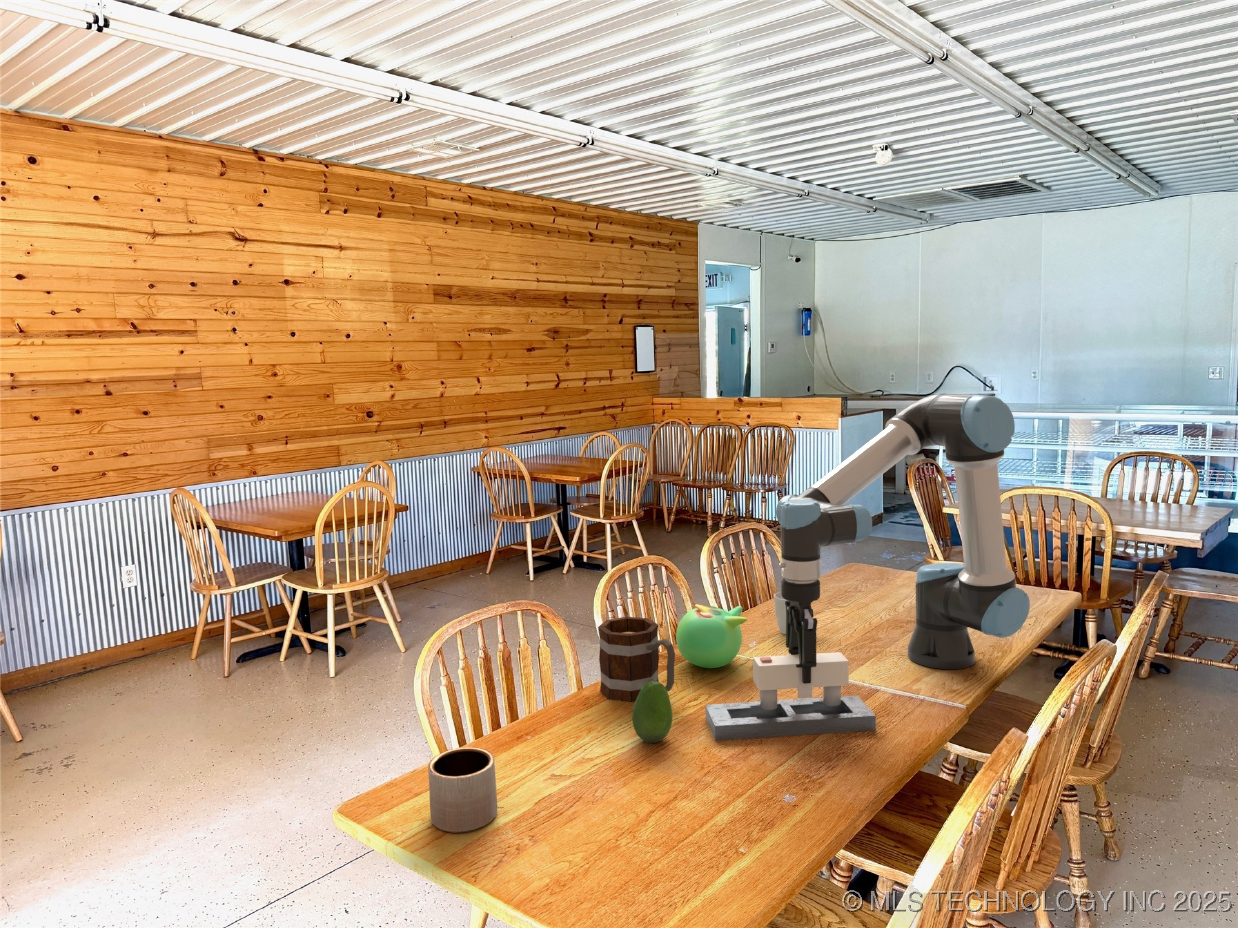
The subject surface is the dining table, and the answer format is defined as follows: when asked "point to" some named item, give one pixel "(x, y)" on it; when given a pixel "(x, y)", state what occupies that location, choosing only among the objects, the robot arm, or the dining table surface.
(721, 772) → the dining table surface
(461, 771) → the planter
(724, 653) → the toy bird
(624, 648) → the mug
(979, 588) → the robot arm
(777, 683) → the cream block with pegs
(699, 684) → the dining table surface
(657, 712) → the fruit
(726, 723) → the keyhole plate
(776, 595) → the cup
